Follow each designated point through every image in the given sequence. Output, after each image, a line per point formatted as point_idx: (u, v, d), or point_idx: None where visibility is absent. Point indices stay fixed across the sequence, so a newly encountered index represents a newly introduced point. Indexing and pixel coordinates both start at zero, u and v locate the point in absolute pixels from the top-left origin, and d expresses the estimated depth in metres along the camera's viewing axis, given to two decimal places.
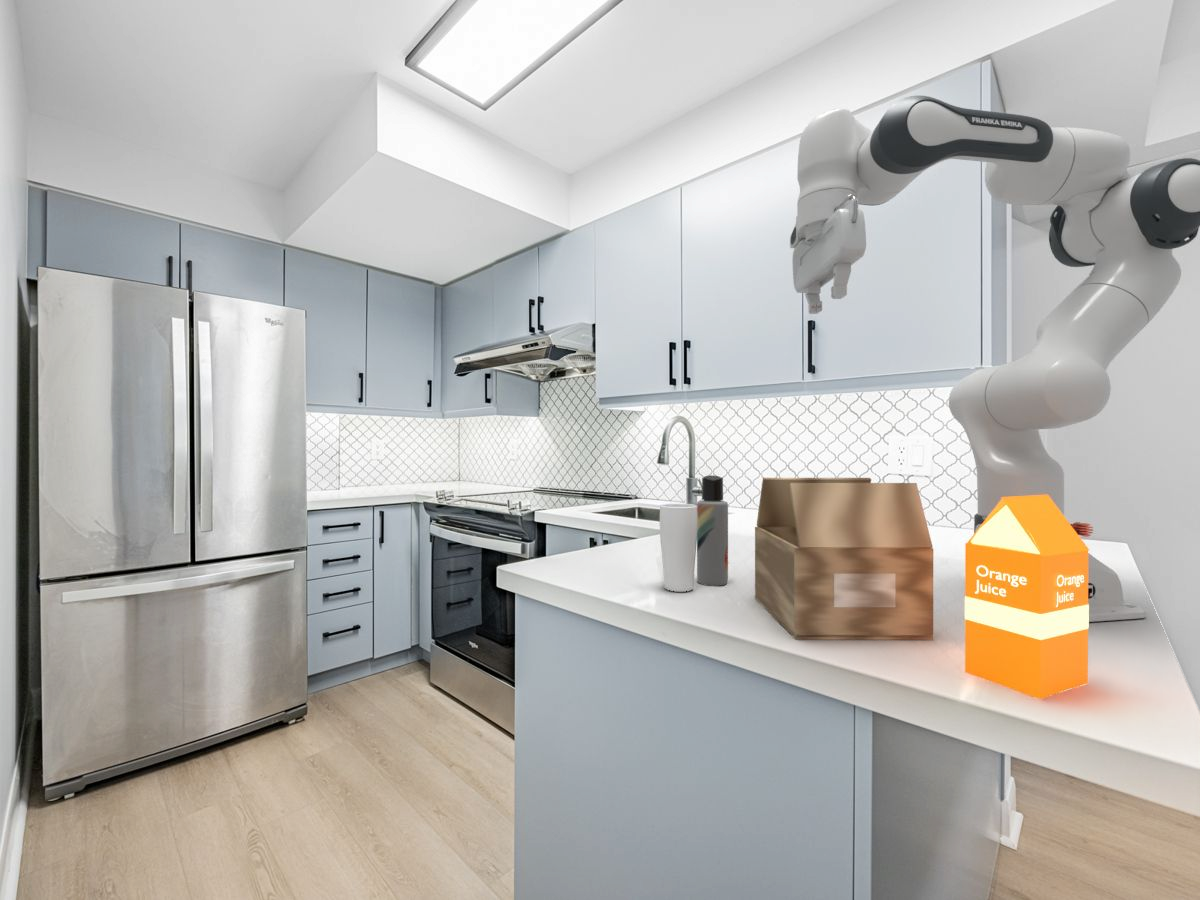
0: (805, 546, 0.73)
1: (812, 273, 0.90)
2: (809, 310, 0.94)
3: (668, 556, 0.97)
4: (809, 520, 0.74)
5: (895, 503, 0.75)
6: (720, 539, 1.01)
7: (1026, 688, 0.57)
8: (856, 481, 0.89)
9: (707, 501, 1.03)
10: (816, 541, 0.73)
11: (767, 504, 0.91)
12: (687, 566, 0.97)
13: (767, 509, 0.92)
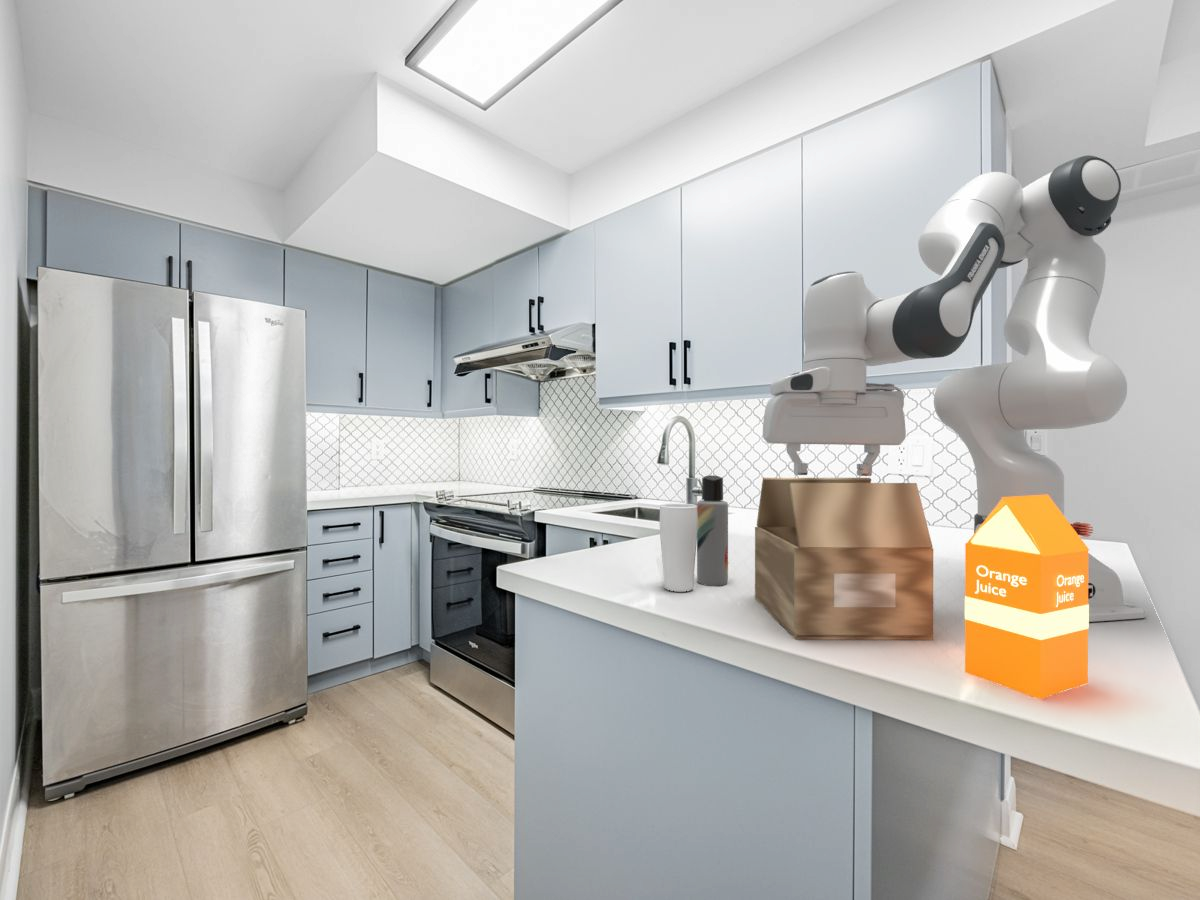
0: (805, 546, 0.73)
1: (831, 438, 0.81)
2: (801, 472, 0.82)
3: (668, 556, 0.97)
4: (809, 520, 0.74)
5: (895, 503, 0.75)
6: (720, 539, 1.01)
7: (1026, 688, 0.57)
8: (856, 481, 0.89)
9: (707, 501, 1.03)
10: (816, 541, 0.73)
11: (767, 504, 0.91)
12: (687, 566, 0.97)
13: (767, 509, 0.92)
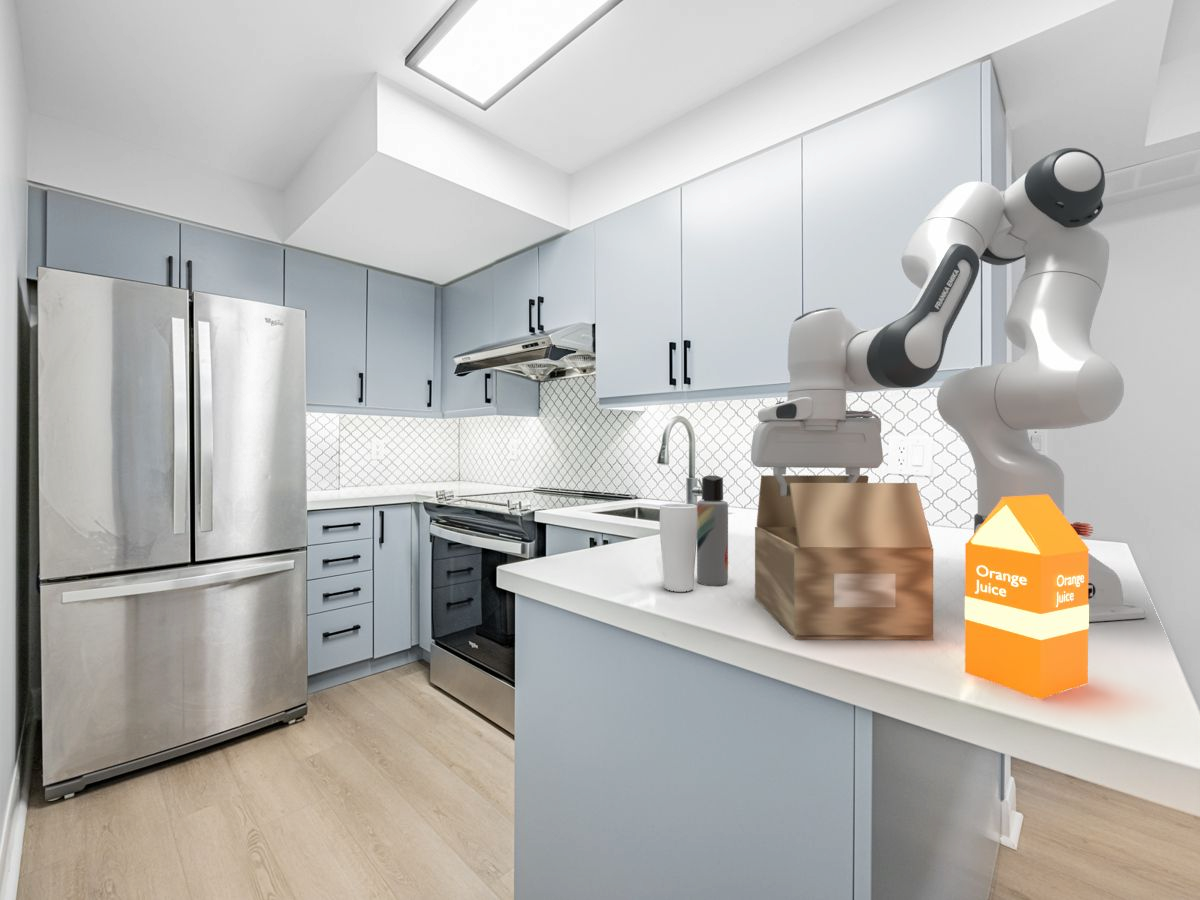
0: (805, 546, 0.73)
1: (813, 462, 0.88)
2: (787, 494, 0.89)
3: (668, 556, 0.97)
4: (809, 520, 0.74)
5: (895, 503, 0.75)
6: (720, 539, 1.01)
7: (1026, 688, 0.57)
8: None
9: (707, 501, 1.03)
10: (816, 541, 0.73)
11: (766, 503, 0.92)
12: (687, 566, 0.97)
13: (766, 508, 0.92)
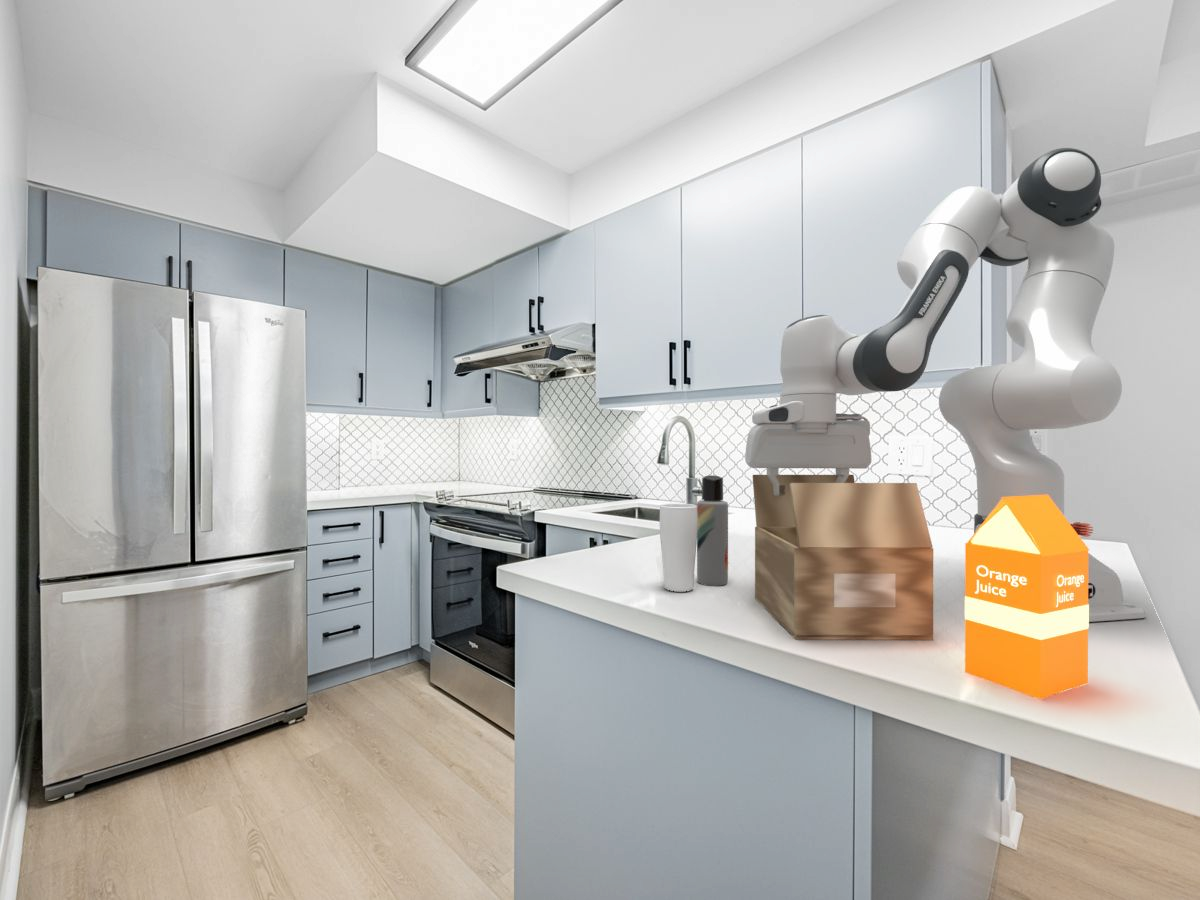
0: (805, 546, 0.73)
1: (805, 463, 0.92)
2: (779, 493, 0.93)
3: (668, 556, 0.97)
4: (809, 520, 0.74)
5: (895, 503, 0.75)
6: (720, 539, 1.01)
7: (1026, 688, 0.57)
8: None
9: (707, 501, 1.03)
10: (816, 541, 0.73)
11: (762, 501, 0.94)
12: (687, 566, 0.97)
13: (763, 506, 0.94)
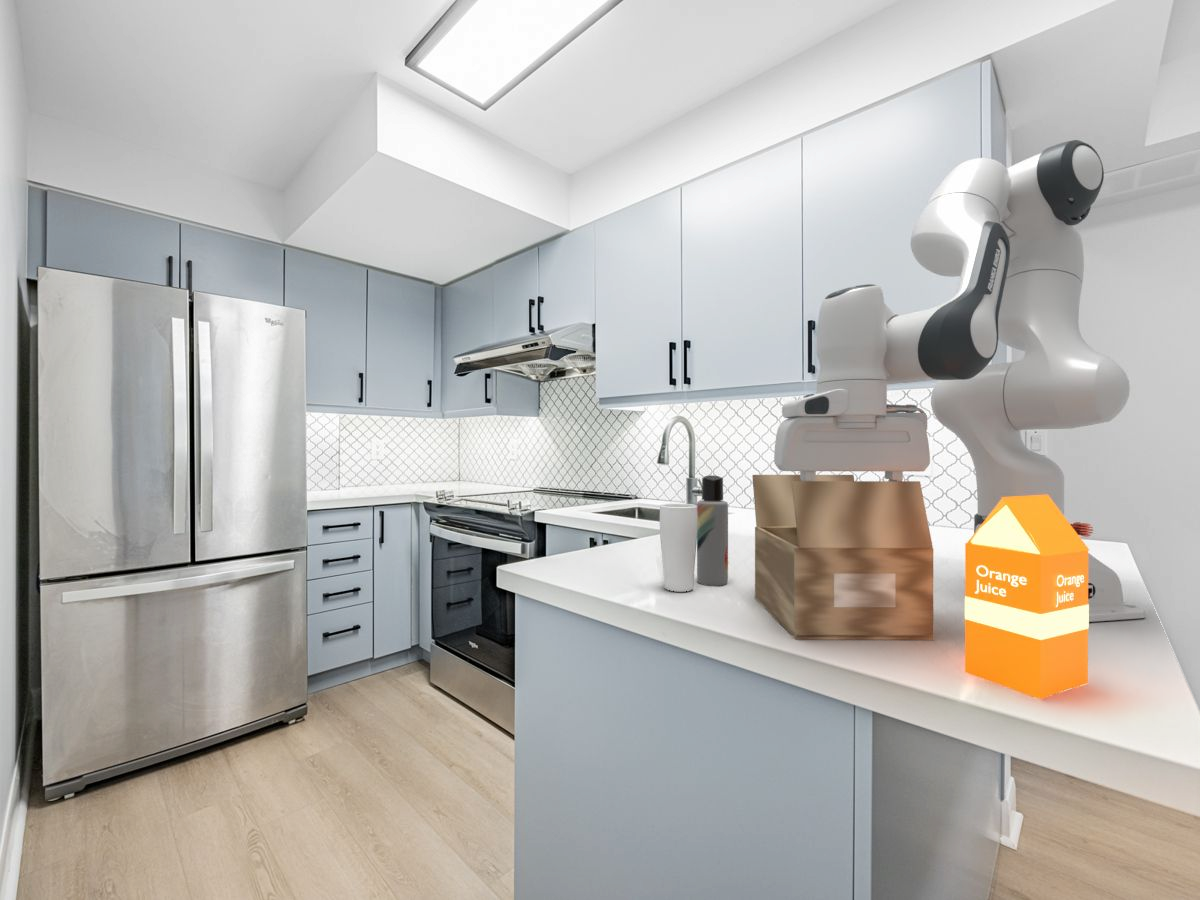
0: (805, 546, 0.73)
1: (848, 465, 0.75)
2: None
3: (668, 556, 0.97)
4: (810, 520, 0.74)
5: (898, 502, 0.74)
6: (720, 539, 1.01)
7: (1026, 688, 0.57)
8: (840, 477, 0.95)
9: (707, 501, 1.03)
10: (816, 541, 0.73)
11: (762, 501, 0.94)
12: (687, 566, 0.97)
13: (763, 506, 0.94)
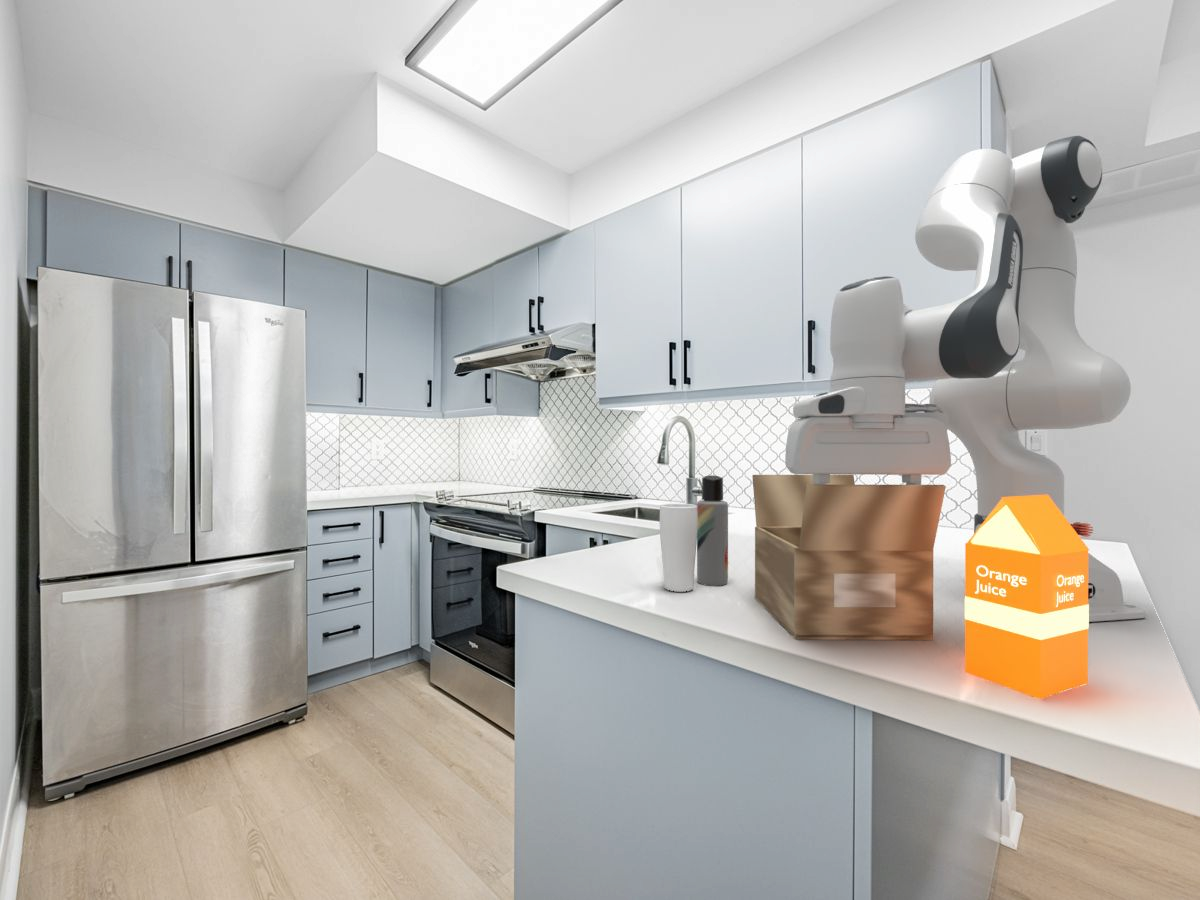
0: (805, 549, 0.73)
1: (865, 468, 0.70)
2: None
3: (668, 556, 0.97)
4: (817, 525, 0.71)
5: (914, 507, 0.70)
6: (720, 539, 1.01)
7: (1026, 688, 0.57)
8: (840, 477, 0.95)
9: (707, 501, 1.03)
10: (818, 545, 0.72)
11: (762, 501, 0.94)
12: (687, 566, 0.97)
13: (763, 506, 0.94)
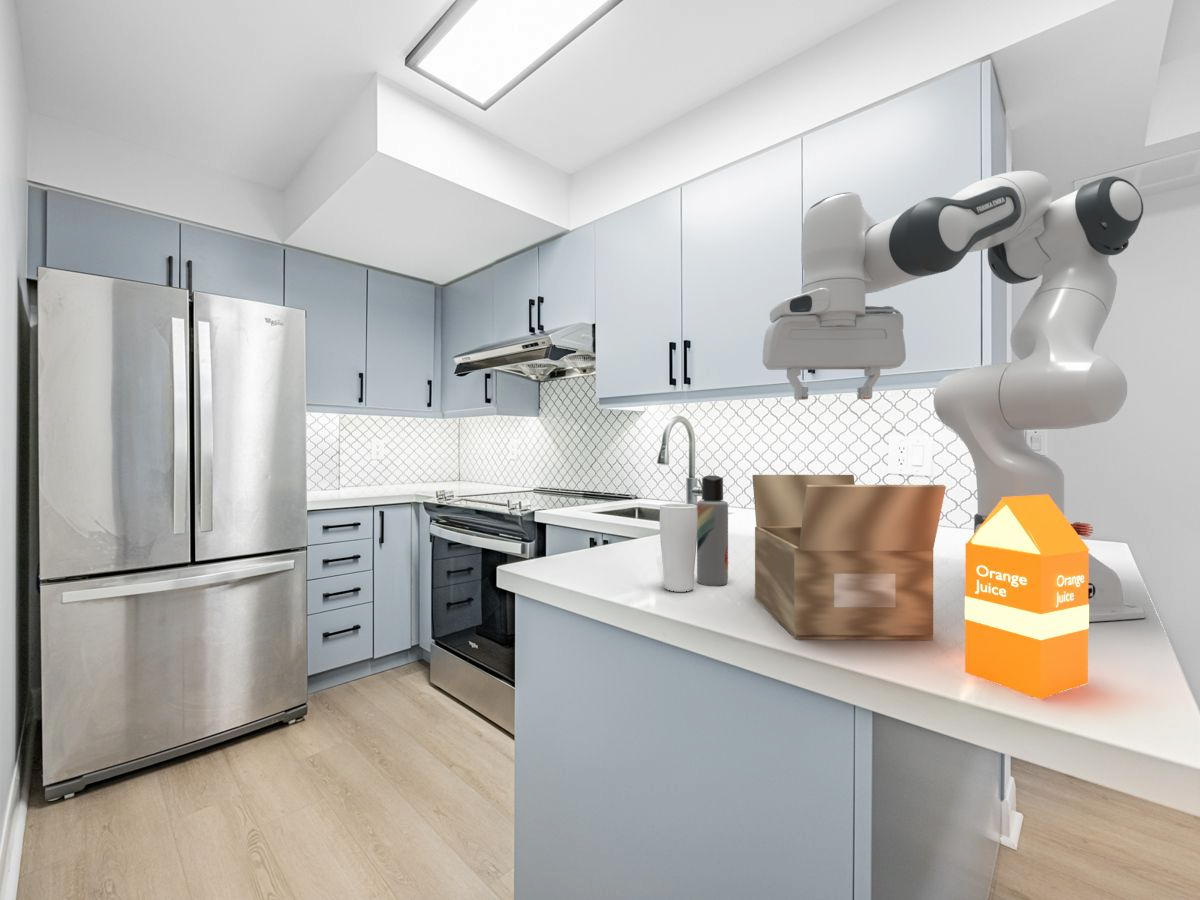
0: (805, 549, 0.73)
1: (831, 361, 0.81)
2: (802, 396, 0.82)
3: (668, 556, 0.97)
4: (817, 525, 0.71)
5: (914, 507, 0.70)
6: (720, 539, 1.01)
7: (1026, 688, 0.57)
8: (840, 477, 0.95)
9: (707, 501, 1.03)
10: (818, 545, 0.72)
11: (762, 501, 0.94)
12: (687, 566, 0.97)
13: (763, 506, 0.94)
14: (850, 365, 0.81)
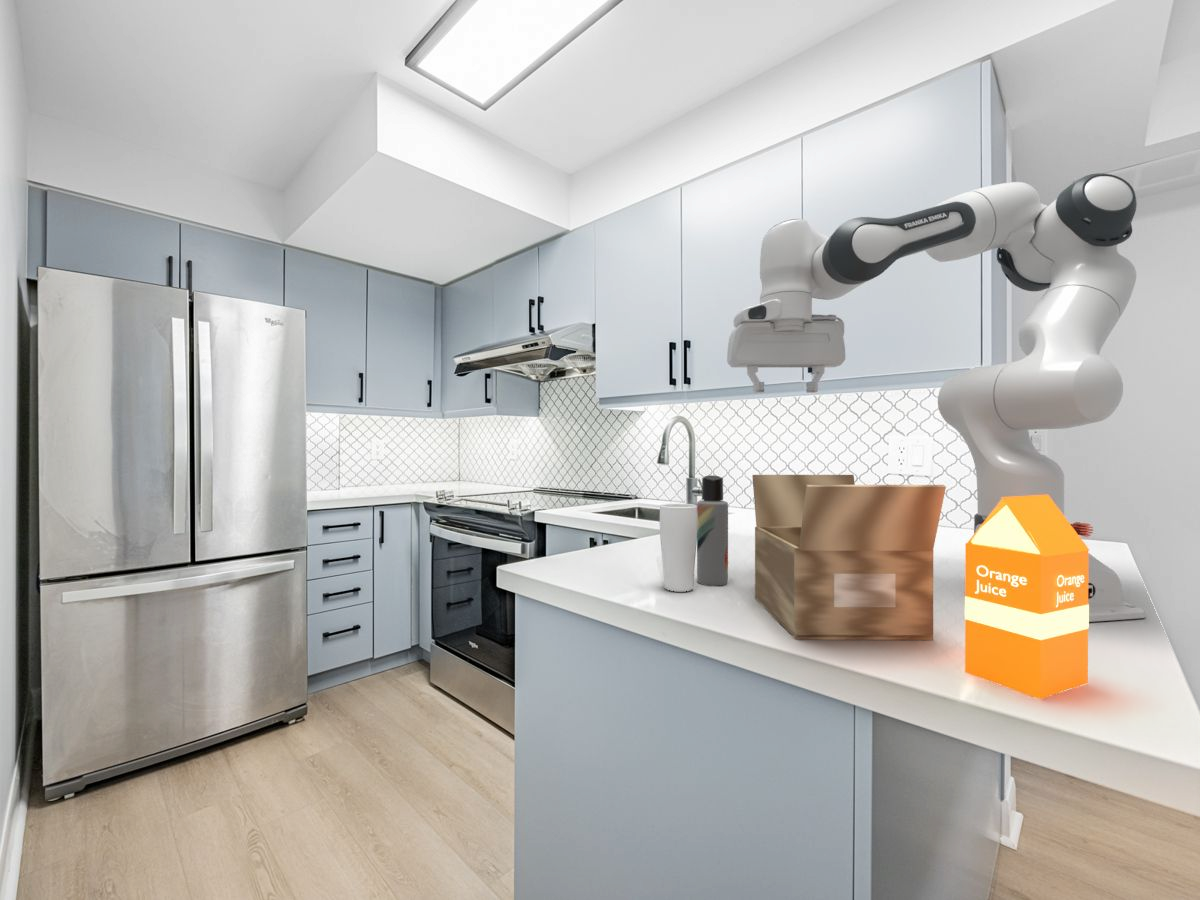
0: (805, 549, 0.73)
1: (782, 360, 0.97)
2: (759, 389, 0.98)
3: (668, 556, 0.97)
4: (817, 525, 0.71)
5: (914, 507, 0.70)
6: (720, 539, 1.01)
7: (1026, 688, 0.57)
8: (840, 477, 0.95)
9: (707, 501, 1.03)
10: (818, 545, 0.72)
11: (762, 501, 0.94)
12: (687, 566, 0.97)
13: (763, 506, 0.94)
14: (799, 364, 0.97)
